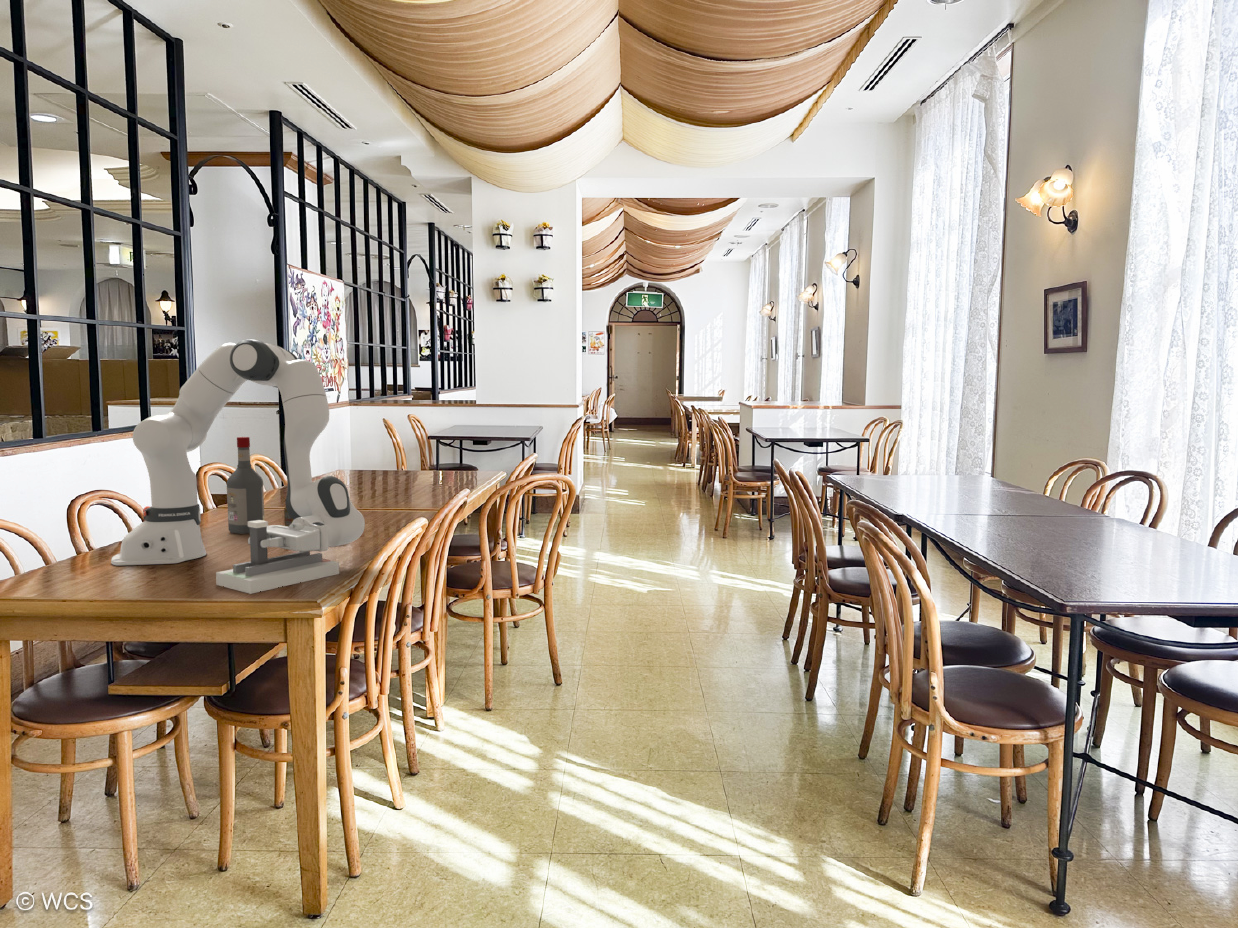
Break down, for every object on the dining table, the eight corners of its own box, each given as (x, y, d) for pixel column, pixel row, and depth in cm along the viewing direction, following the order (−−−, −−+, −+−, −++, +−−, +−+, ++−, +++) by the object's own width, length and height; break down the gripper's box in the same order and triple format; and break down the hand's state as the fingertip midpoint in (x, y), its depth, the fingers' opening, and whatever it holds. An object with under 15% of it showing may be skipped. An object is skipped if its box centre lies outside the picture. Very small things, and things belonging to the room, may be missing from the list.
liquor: (242, 535, 257) (238, 438, 254) (225, 531, 262) (221, 437, 259) (268, 530, 265) (265, 437, 262) (251, 527, 270) (247, 436, 267)
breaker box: (250, 593, 188) (249, 572, 188) (216, 584, 196) (215, 564, 196) (339, 573, 208) (338, 554, 208) (305, 566, 216) (304, 547, 215)
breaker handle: (258, 572, 195) (256, 523, 194) (249, 570, 197) (247, 521, 196) (269, 570, 198) (268, 521, 197) (261, 568, 200) (259, 519, 199)
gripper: (281, 517, 213) (230, 524, 202) (331, 525, 202) (279, 534, 190) (281, 541, 214) (231, 550, 202) (331, 551, 202) (280, 561, 191)
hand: (255, 542), depth 196 cm, fingers closed on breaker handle, 3 cm apart
